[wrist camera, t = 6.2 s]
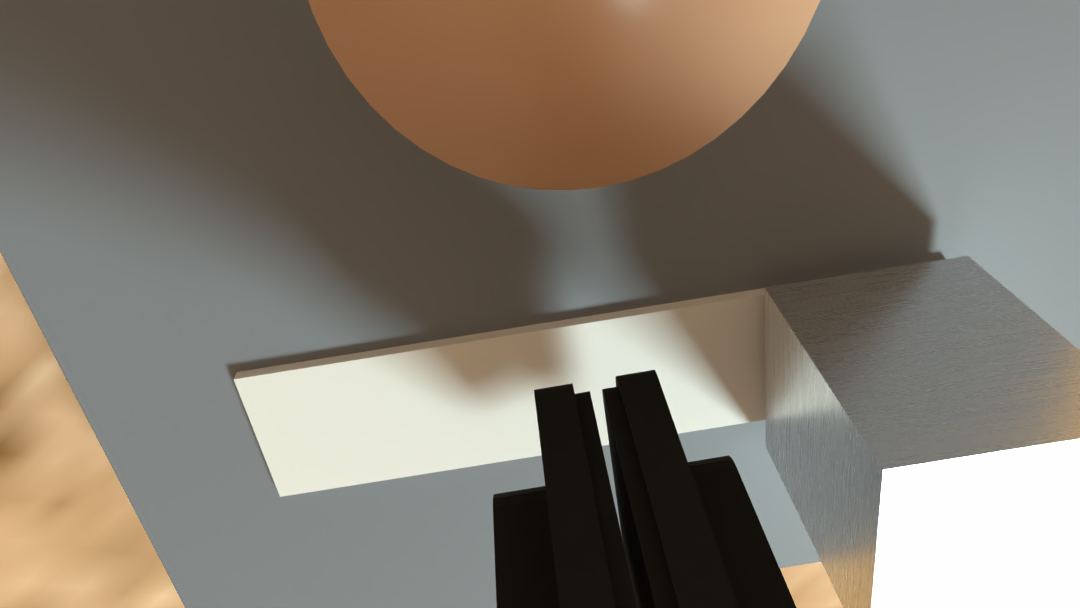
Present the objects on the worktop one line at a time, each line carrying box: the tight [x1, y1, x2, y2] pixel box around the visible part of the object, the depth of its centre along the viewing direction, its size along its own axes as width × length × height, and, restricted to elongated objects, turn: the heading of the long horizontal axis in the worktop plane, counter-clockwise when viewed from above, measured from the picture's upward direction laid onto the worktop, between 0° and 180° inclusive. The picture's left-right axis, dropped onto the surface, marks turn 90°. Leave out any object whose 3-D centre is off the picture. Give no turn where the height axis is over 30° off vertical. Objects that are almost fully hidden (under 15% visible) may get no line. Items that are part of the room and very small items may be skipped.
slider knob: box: [765, 256, 1080, 608], centre depth 11 cm, size 3×3×4 cm
